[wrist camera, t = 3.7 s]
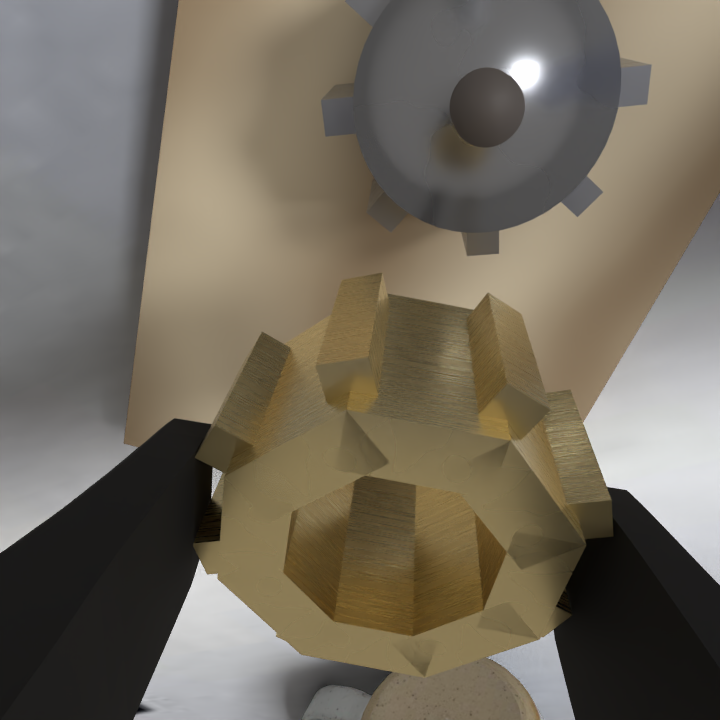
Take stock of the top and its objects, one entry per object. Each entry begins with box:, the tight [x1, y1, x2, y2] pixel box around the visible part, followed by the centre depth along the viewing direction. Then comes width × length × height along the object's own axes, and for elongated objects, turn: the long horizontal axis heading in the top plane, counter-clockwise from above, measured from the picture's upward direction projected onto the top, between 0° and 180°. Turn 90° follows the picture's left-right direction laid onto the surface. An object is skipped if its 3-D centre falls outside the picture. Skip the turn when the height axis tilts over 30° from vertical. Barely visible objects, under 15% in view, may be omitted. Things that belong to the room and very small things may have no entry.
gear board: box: [124, 0, 720, 447], centre depth 14 cm, size 13×18×5 cm
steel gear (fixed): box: [321, 0, 652, 256], centre depth 12 cm, size 6×6×3 cm
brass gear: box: [193, 273, 613, 678], centre depth 10 cm, size 6×6×3 cm
